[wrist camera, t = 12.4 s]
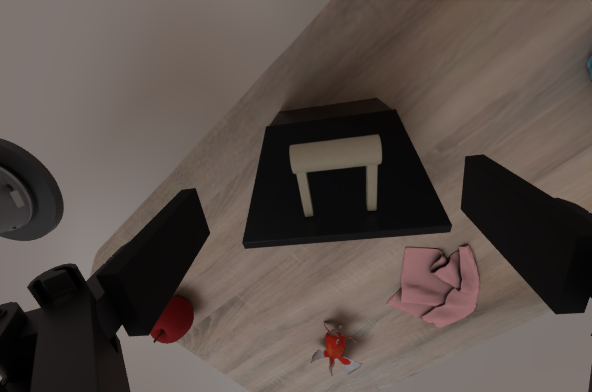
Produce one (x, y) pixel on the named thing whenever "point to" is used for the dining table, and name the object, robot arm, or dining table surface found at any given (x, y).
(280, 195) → the lid
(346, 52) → the dining table surface
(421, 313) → the cloth
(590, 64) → the teapot
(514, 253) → the robot arm
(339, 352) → the fish
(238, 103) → the dining table surface
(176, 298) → the apple
